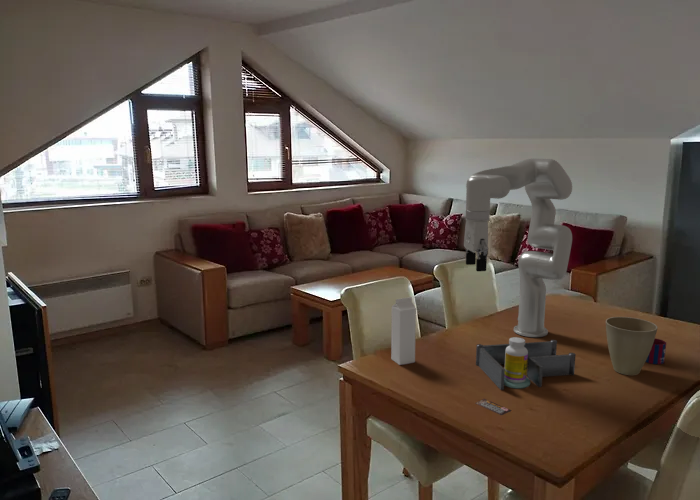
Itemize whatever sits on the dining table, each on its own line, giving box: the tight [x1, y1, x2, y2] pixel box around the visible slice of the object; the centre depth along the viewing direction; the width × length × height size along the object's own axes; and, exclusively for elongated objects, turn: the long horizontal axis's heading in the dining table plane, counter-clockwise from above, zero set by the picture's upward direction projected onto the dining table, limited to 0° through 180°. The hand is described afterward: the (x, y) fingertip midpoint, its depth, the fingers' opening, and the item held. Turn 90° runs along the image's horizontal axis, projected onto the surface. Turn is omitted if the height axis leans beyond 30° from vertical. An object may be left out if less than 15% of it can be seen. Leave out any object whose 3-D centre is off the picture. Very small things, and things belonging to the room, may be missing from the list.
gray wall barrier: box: [475, 339, 577, 391], centre depth 186 cm, size 20×28×7 cm
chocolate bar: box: [475, 398, 513, 416], centre depth 164 cm, size 11×5×1 cm, turn 38°
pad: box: [504, 376, 531, 389], centre depth 180 cm, size 9×9×1 cm
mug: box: [645, 337, 667, 365], centre depth 196 cm, size 7×10×7 cm
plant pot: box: [605, 316, 658, 376], centre depth 186 cm, size 15×15×16 cm
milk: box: [390, 296, 417, 366], centre depth 195 cm, size 6×6×22 cm
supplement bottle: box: [503, 336, 528, 383], centre depth 179 cm, size 7×7×13 cm
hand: (475, 267), depth 190 cm, fingers open, 9 cm apart
